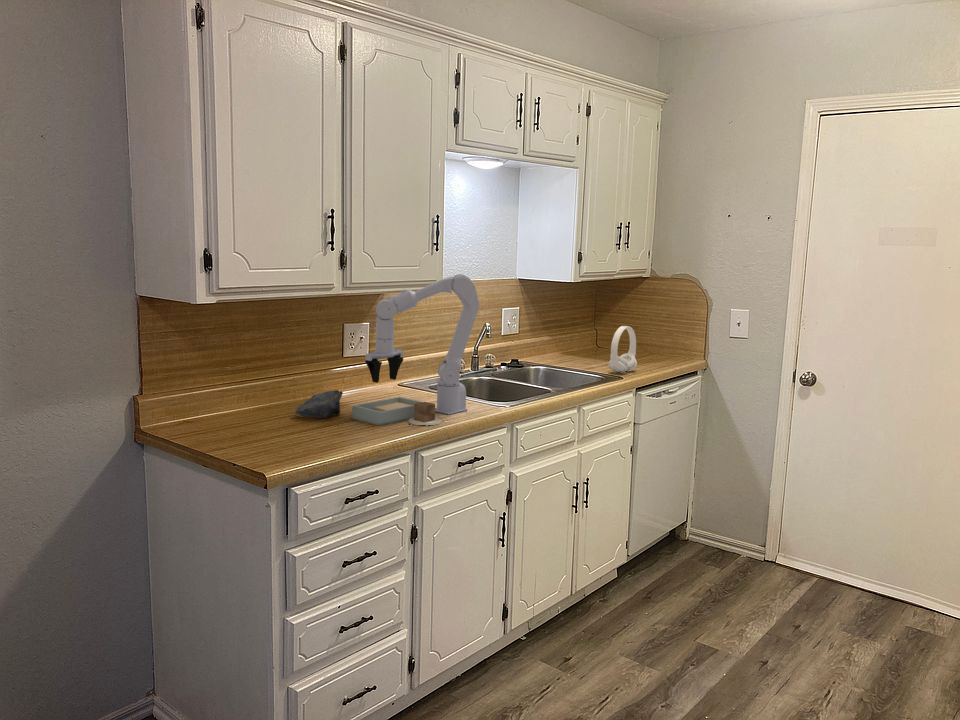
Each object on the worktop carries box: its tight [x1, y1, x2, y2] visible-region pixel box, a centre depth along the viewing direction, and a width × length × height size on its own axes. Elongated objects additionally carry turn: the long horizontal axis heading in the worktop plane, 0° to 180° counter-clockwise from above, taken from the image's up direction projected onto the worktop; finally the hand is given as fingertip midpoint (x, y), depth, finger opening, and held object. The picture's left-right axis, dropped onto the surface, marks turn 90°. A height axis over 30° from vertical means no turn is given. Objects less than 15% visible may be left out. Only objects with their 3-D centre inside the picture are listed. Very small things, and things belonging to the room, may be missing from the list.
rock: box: [293, 389, 344, 419], centre depth 238 cm, size 16×8×10 cm
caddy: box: [351, 396, 423, 427], centre depth 241 cm, size 20×12×4 cm, turn 141°
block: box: [414, 401, 436, 422], centre depth 236 cm, size 4×4×5 cm
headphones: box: [607, 325, 638, 374], centre depth 333 cm, size 8×19×20 cm, turn 143°
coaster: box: [408, 416, 443, 427], centre depth 236 cm, size 10×10×1 cm
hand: (384, 380), depth 247 cm, fingers open, 7 cm apart
